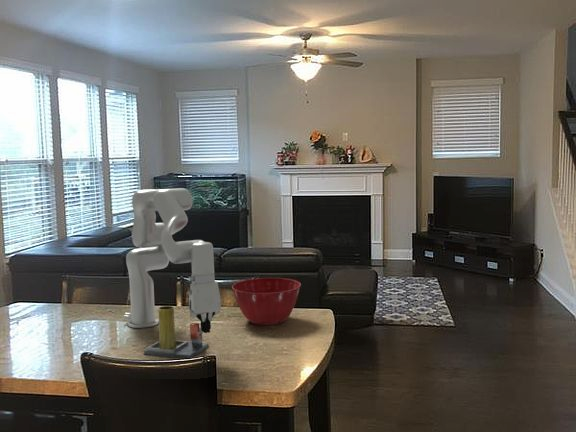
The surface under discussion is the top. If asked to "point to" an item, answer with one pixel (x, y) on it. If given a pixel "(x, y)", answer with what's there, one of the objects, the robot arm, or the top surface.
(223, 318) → the top surface
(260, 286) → the mixing bowl
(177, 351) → the bed
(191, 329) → the lever
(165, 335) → the vase
